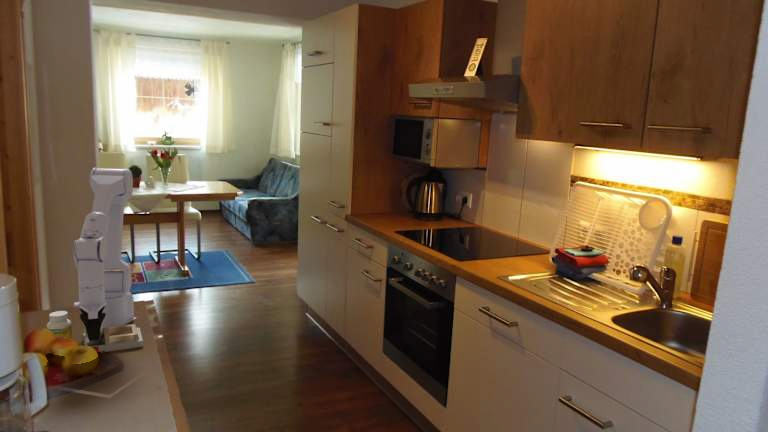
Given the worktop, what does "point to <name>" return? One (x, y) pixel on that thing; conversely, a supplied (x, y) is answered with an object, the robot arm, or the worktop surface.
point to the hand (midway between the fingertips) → (93, 336)
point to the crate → (120, 334)
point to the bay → (120, 345)
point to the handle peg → (94, 342)
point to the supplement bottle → (60, 324)
